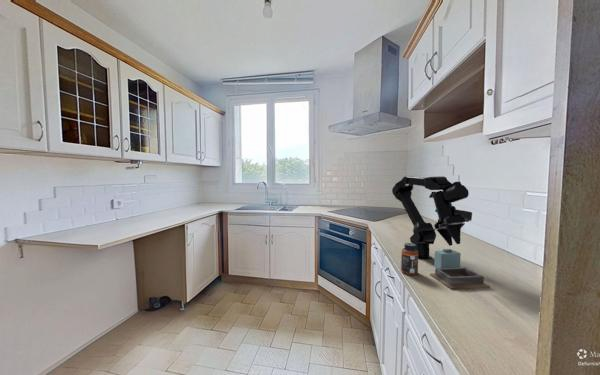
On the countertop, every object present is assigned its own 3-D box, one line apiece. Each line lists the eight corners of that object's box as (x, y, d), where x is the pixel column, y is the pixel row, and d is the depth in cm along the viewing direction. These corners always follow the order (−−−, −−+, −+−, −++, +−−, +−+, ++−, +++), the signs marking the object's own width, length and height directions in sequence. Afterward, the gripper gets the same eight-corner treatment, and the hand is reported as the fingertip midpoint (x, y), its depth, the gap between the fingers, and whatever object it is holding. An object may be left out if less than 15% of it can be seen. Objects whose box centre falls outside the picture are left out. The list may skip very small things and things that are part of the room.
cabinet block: (434, 267, 97) (434, 248, 96) (452, 266, 97) (453, 247, 97) (440, 271, 93) (441, 251, 92) (459, 270, 93) (460, 250, 93)
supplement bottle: (417, 277, 87) (417, 247, 87) (399, 273, 90) (400, 245, 90) (418, 271, 92) (419, 243, 92) (402, 268, 96) (402, 241, 95)
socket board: (430, 275, 89) (430, 267, 89) (464, 273, 90) (464, 265, 90) (450, 289, 78) (451, 280, 78) (489, 287, 79) (490, 278, 79)
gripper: (475, 196, 85) (489, 240, 80) (458, 207, 102) (469, 244, 97) (441, 201, 87) (453, 244, 83) (430, 211, 105) (439, 246, 100)
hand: (454, 244), depth 90 cm, fingers open, 9 cm apart
